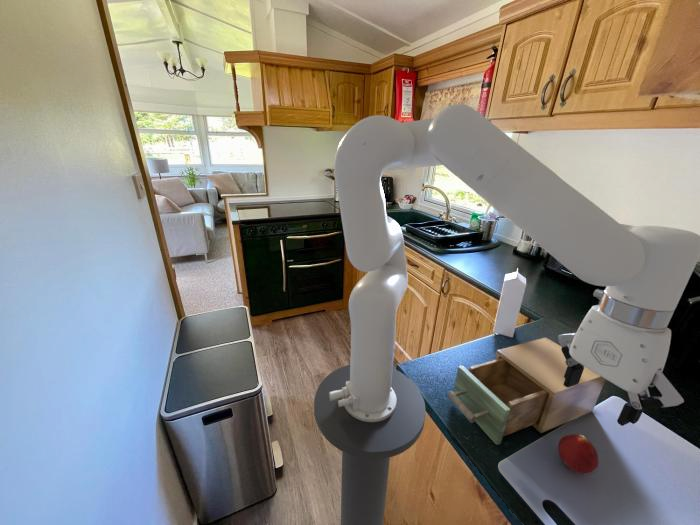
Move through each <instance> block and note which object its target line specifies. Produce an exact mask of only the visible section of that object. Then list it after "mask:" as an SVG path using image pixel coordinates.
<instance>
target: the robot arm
mask: <svg viewBox="0 0 700 525" xmlns="http://www.w3.org/2000/svg"><path fill="white" fill-rule="evenodd" d="M336 148H337V149H336V151H335V155H334V160H333V161H334V162H333V176H334V182H335V187H336V193H337V196H338V203H339V210H340V219H341V224H342V231H343V237H344V243H345V250H346V255H347V259H348V260H349V262H350V264H351V265H352V266H353V268H355V269H356V270H358V271H360V272H363V273H364V272H365V273H366V274H364V275H363V276H362V277H361V278H360V279H359V281H358V282H357V283H356V284H355V285H354V287H353V289H352V290H351V292H350V295H349V299H348V313H349V319H350V320H349V321H350V360H349V362H350V364H349V365H350V381H347V382H346V387H342V390H338V391H337V390H336V391H332V392H329V397H330V401H334V400H338V399H340V398H343V399H342V400H338V405H339V407H342V406H344V407H345V409H346V410H347V411H348V413H349V414H350V415H352V416H353V417H355V418H356V419H358V420H361V421H365V422H379V421H382V420H385V419H386V418H388V417H389V416H391V415H392V413H393V412H394V410H395V408H396V400H397V398H396V394H395V392H394V390H393V389H392V388H391V381H392V370H393V369H394V360H395V359H394V358H395V349H396V348H395V347H396V335H397V327H396V324H397V323H396V320H397V313H398V309H399V307H400V304H401V302H402V301H403V298H404V296H405V294H406V292H407V290H408V285H409V276H408V265H407V257H406V246H405V239H404V234H403V230H402V229H401V226H400V224H399V223H398V222H397V221H396V220H395V219H394V218H392V217H390V216H388V214H387V208H386V206H387V205H386V198H385V193H384V189H383V186H382V180H381V179H382V175H383V173H384V172H385V171H397V170H405V169H415V168H427V167H438V166H443V167H445V168H446V169H447V170H448V171H449V172H451V173H452V174H453V175H454V176H455V177H457V178H458V179H459V180H461V181H462V183H464V184H465V185H466V186H468V187H469V188H470V189H471V190H472V191H473V192H475V193H476V195H478V196H480V198H482V199H483V200H484V201H485V202H486V203H487V204H489V205H490V206H491V207H492V208H493V209H494V210H496V211H497V212H498V214H500V215H501V216H502V217H503V218H505V219H506V220H507V221H510V222H511V223H512V224H513V225H514V226H516V227H518V228H519V229H520V230H521V231H522V232H523V233H525V234H526V235H527V236H528V237H529V238H530V239H532V240H533V241H534V242H535V243H536V244H537V245H538V246H540V247H541V248H542V249H543V250H544V251H546V252H547V253H548V254H549V255H550V256H551V257H553V259H555V260H556V261H557V262H559V264H561V265H562V266H563V267H565V268H566V269H567V270H568V271H569V272H570V273H572V274H573V275H574V276H576V277H577V278H578V279H579V280H580V281H582V282H584V283H586V284H589V285H593V286H598V287H605V288H604V289H599V288H596V289H595V290H594V291H593V294H592V295H593V297H595V298H597V299H598V300H599V301H598V304H596V305H592V306H591V308H590V309H589V310H588V312H587V313H586V315H585V316H584V318H583V320H582V321H581V323H580V325H579V326H578V328H577V331H576V332H572V333H562V334H559V335H557V339H558V343H559V345H560V346H561V347H562V348H561V350H562V353H563V355H564V357H565V359H566V361H565V363H566V365H567V369H566V372H565V375H564V378H565V381H564V384H563V385H564V386H565V387H571V386H574V385H576V384H578V383H579V381H580V378H581V376H582V373H583V370H584V366H585V367H586V368H588V369H590V370H591V371H593V372H595V373H596V374H598V375H600V376H601V377H603V378H605V379H606V380H605V381H608V382H610V383H612V385H615V386H617V387H618V388H620V389H622V390H623V391H625V392H627V395H628V398H629V401H627V402H625V403H624V404H623V407H622V409H621V411H620V413H619V415H618V417H617V420H616V422H617V424H618V425H620V426H621V427H624V426H625V425H627V424H629V423H631V424H632V425H634V424H636V423H637V422H638V421H639V420H640V418H641V416H642V414H643V412H644V410H646V409H649V410H650V409H652V410H654V409H656V410H657V409H662V408H669V407H676V406H680V405H681V404H683V403H685V400H684V398H683V397H682V395H681V394H680V393H679V392H678V390H677V389H676V388H675V387H674V386H673V384H672V383H671V382H670V380H669V379H668V378H667V377H666V375H664V373H663V371H664V369H665V365H666V363H667V359H668V356H669V352H670V347H671V340H672V330H671V329H670V328H669V327H668V326H669V324H670V322H671V319H672V317H673V315H674V312H675V310H676V309H677V307H678V304H679V302H680V300H681V298H682V296H683V293H684V291H685V289H686V287H687V285H688V283H689V280H690V278H691V276H692V274H693V272H694V270H695V268H696V265H697V264H698V261H699V259H700V234H698V233H695V232H693V231H690V230H686V229H682V228H681V229H680V228H675V227H671V226H670V227H669V226H662V225H661V226H660V225H630V224H624V223H619V221H617V220H616V219H614V218H613V217H611V215H609V214H608V213H607V212H605V211H604V209H602V208H600V206H598V205H596V204H595V203H594V202H593V201H591V199H589V198H588V197H587V196H585V195H584V194H582V193H581V192H580V191H578V190H577V189H576V188H574V187H573V186H572V185H570V184H569V183H568V182H566V181H565V180H563V178H561V177H560V176H559V175H558V174H557V173H556V172H554V171H553V170H552V169H551V168H550V167H548V166H547V165H545V164H544V163H543V162H541V161H540V160H539V159H538V158H536V157H535V156H534V155H532V154H531V153H530V152H529V151H528V150H526V149H525V148H524V147H522V146H521V145H520V144H519V143H517V142H516V141H515V140H514V139H512V138H511V137H510V136H509V135H508V134H506V133H505V132H504V131H503V130H501V129H500V128H499V127H498V126H496V125H495V124H494V123H492V121H490V120H489V119H488V118H486V117H485V116H484V115H483V114H482V113H480V112H479V111H477V110H476V109H475V108H473V107H471V106H469V105H466V104H461V103H457V104H451V105H449V106H447V107H444V108H443V109H442V110H440V111H439V112H438V113H437V114H436V115H435V116H434V117H431V118H426V119H419V120H411V121H404V122H401V121H399V120H398V119H395V118H392V117H391V116H386V115H383V114H382V115H381V114H376V115H370V116H367V117H364V118H362V119H360V120H359V121H357V122H356V123H355V124H354V125H352V126H351V127H350V128H349V129H348V130H347V131H346V133H345V134H344V135H343V136H342V138H341V140H340V141H339V143H338V146H337V147H336ZM653 387H656V389H657V390H658V391H659V393H660V394H661V396H651V394H650V391H649V388H653Z"/></svg>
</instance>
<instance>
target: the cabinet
mask: <svg viewBox="0 0 700 525" xmlns="http://www.w3.org/2000/svg"><path fill="white" fill-rule="evenodd" d="M561 348H562V346H561V345H560V344H558V343H556V342H554V341H553V340H551V339H550V338H547V337H542V338H538V339H534V340H531V341H527V342H523V343H520V344H515V345H511V346H507V347H505V348H504V347H503V348H502V349H497V350H496V353H495V357H494V360H496V359H500V358H503V359H504V360H506V361H507V362H508V363H510V364H511V365H512V366H514V367H515V368H516V369H518V370H519V371H520V372H522V373H523V374H524V375H526V376H527V377H528V378H530V379H531V380H532V381H534V382H535V383H536V384H537V385H539V386H540V387H541V388H543V389H544V390H545V391H547V392H548V393H549V396H548V399H547V402H546V405H545V408H544V411H543V414H542V417H541V420H540V422H538V423H536V424H533V425H531V426H532V427H533V428H535V429H536V430H537V431H538V432H539V434H542V433H545V432H547V431H550V430H552V429H554V428H557V427H559V426H561V425H564V424H566V423H569V422H571V421H573V420H576V419H579V418H580V417H582V416H585V415H587V414H590V413H592V412H593V411H594V409H595V406H596V404H597V401H598V399H599V397H600V394H601V391H602V389H603V387H604V385H605V382H606V381H607V380H606V379H605V378H603V377H601V376H600V375H598V374H596V373H595V372H593V371H591V370H590V369H588V368H586V367H585V366H584V370H583V373H582V376H581V378H580V381H579V383H578V384H576V385H574V386H571V387H565V386H564V385H563V384H564V381H565V378H564V375H565V372H566V369H567V365H566V363H565V361H566V359H565V357H564V355H563V353H562V350H561Z"/></svg>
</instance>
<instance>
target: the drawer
mask: <svg viewBox="0 0 700 525" xmlns="http://www.w3.org/2000/svg"><path fill="white" fill-rule="evenodd" d="M456 370H457V371H456V375H455V382H454V386H453V390H450V391H448V392H447V394H446V395H447V398H448V399H449V401H451V403H453V405H454V406H455V407H456V408H457V409H458V410H459V412H461V414H462V415H463V416H464V417H465V418H466V419H467V420H468V422H469V423H471V424H474V423H476V425H477V426H478V427H479V428H480V429H481V430H482V431H483V432H484V434H486V436H488V438H489V439H490V440H491V441H492V442H493V443H494V444H495V445H496V446H498V445H501V444H502V442H503V438H504V437H506V436H509V435H511V434H513V433H516V432H518V431H521V430H523V429H526V428H528V427H530V426H532V425H533V424H536V423H538V422H540V420H541V417H542V414H543V411H544V408H545V405H546V402H547V399H548V396H549V393H548V392H547V391H545V390H544V389H543V388H541V387H540V386H539V385H537V384H536V383H535V382H534V381H532V380H531V379H530V378H528V377H527V376H526V375H524V374H523V373H522V372H520V371H519V370H518V369H516V368H515V367H514V366H512V365H511V364H510V363H508V362H507V361H506V360H504V359H503V358H500V359H496V360H495V359H493V360H489V361H485V362H482V363H479V364H475V365H471V366H469V370H468V369H467V368H466V366H464V365H461V364H460V365H458V366H457V369H456Z"/></svg>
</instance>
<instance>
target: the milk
mask: <svg viewBox="0 0 700 525" xmlns="http://www.w3.org/2000/svg"><path fill="white" fill-rule="evenodd" d="M503 279H504V280H503V283H502V287H501V292H500V296H499V301H498V306H497V310H496V313H495V314H496V315H495V318H494V323H493V329H492V333H494V334H498V335H502V336H504V337H508V338H514V334H515V330H516V327H517V323H518V319H519V315H520V311H521V307H522V304H523V299H524V297H525V291H526V288H527V278H526V277H525V276H523V275H522V274H520V272H519V268H518V267H517V269H516V271H513V272H511V273H506V274H505V275H504V278H503Z"/></svg>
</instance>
